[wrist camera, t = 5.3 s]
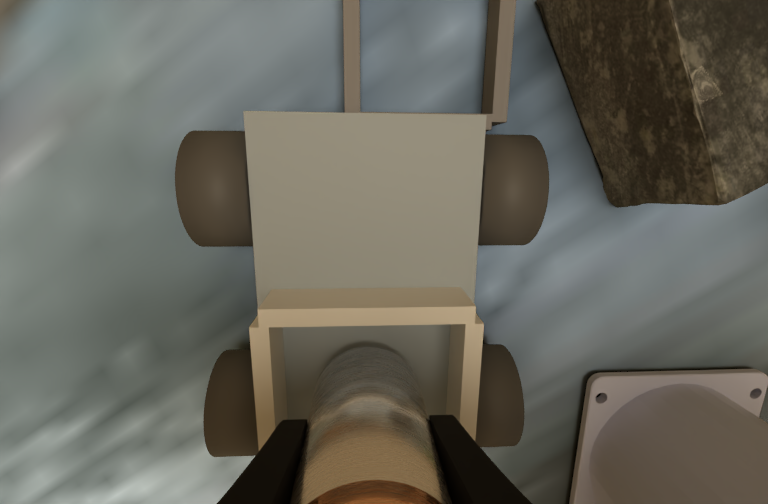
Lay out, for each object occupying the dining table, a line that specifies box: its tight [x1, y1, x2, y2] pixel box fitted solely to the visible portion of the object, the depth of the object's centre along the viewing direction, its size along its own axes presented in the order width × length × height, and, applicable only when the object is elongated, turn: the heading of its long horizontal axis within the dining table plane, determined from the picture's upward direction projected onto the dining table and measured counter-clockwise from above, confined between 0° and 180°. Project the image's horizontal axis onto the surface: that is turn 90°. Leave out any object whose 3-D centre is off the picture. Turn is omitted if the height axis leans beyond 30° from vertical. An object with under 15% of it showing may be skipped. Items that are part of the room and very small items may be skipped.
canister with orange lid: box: [290, 347, 452, 504], centre depth 9 cm, size 3×3×6 cm
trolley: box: [175, 0, 549, 457], centre depth 12 cm, size 17×10×5 cm, turn 179°
